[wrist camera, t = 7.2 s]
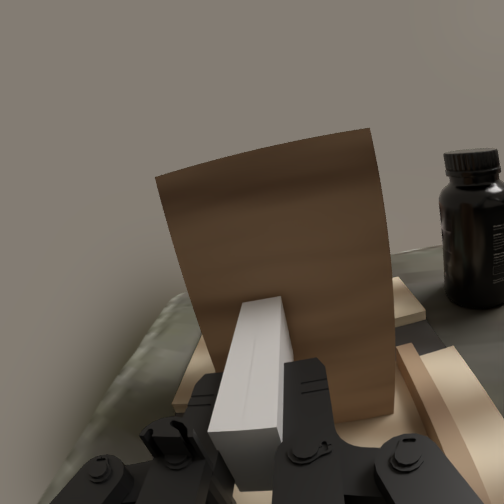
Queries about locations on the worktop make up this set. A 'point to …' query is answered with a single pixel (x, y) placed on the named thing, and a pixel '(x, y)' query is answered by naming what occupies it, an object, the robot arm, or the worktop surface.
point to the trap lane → (413, 404)
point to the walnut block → (294, 257)
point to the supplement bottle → (473, 228)
